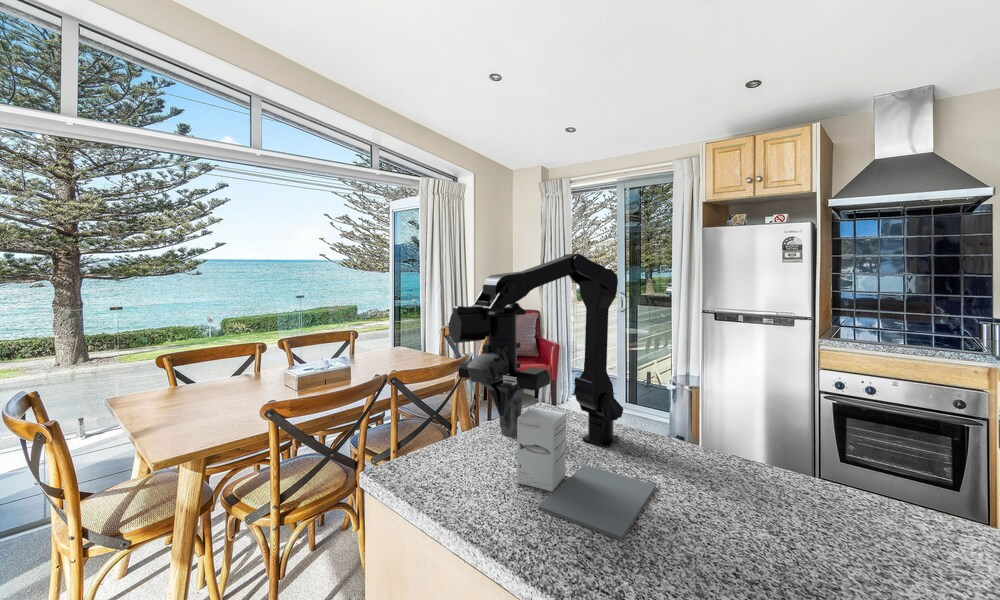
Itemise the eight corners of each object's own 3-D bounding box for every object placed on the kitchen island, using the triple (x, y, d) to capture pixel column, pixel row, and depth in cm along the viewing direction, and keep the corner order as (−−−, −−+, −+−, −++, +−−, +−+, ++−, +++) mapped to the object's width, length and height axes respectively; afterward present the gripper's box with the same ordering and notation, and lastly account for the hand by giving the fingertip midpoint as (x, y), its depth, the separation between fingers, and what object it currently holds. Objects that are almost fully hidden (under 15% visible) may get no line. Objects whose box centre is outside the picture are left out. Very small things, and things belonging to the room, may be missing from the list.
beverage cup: (530, 430, 103) (530, 350, 102) (515, 440, 97) (515, 355, 96) (505, 424, 107) (504, 347, 106) (489, 434, 101) (488, 352, 100)
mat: (583, 467, 83) (583, 464, 83) (655, 488, 75) (655, 484, 75) (538, 509, 69) (538, 506, 69) (621, 540, 61) (621, 536, 61)
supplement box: (515, 484, 77) (515, 417, 76) (531, 467, 84) (531, 405, 83) (553, 493, 74) (553, 424, 73) (566, 475, 80) (567, 411, 79)
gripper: (438, 339, 81) (440, 418, 82) (519, 349, 70) (520, 439, 71) (474, 332, 90) (475, 403, 91) (551, 340, 79) (551, 420, 80)
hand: (502, 415), depth 83 cm, fingers closed
